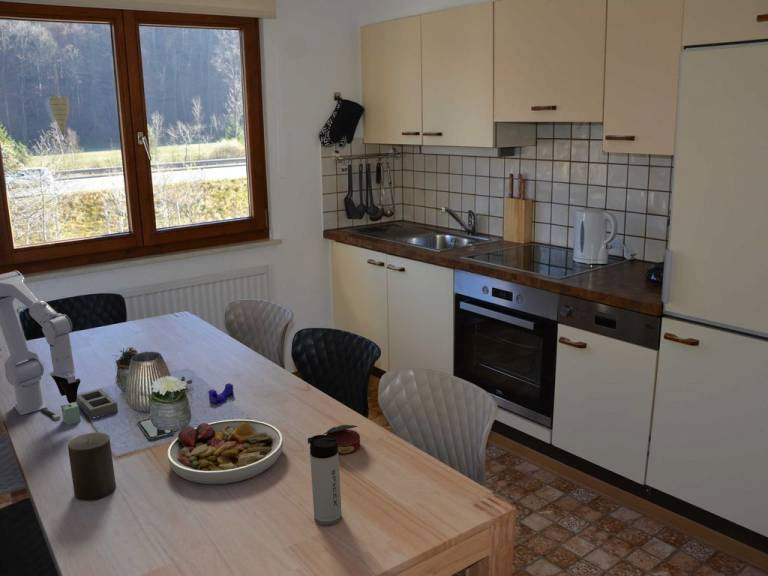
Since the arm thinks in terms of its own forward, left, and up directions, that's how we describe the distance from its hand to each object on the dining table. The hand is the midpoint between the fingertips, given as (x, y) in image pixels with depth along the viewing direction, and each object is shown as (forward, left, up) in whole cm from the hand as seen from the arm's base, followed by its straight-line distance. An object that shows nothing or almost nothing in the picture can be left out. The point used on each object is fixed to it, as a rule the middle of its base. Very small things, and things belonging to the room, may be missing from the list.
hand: (68, 398), depth 218 cm
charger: (0, 0, -7) cm, 7 cm away
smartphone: (+23, +17, -8) cm, 30 cm away
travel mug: (+96, +28, -8) cm, 100 cm away
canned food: (+70, +51, -8) cm, 87 cm away
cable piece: (-10, -4, -7) cm, 13 cm away
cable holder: (+17, +42, -8) cm, 46 cm away
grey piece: (-5, +9, -7) cm, 12 cm away
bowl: (+55, +24, -8) cm, 60 cm away
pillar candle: (+47, -8, -8) cm, 48 cm away
